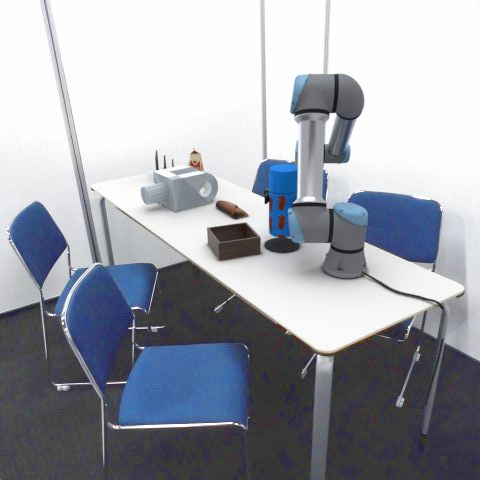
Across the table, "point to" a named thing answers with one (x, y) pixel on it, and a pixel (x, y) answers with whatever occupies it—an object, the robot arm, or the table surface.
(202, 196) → the grey clevis bracket
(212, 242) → the box
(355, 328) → the table surface
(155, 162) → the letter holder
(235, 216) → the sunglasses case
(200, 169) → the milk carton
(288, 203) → the thermos
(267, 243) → the mat
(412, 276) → the table surface
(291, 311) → the table surface
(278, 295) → the table surface
